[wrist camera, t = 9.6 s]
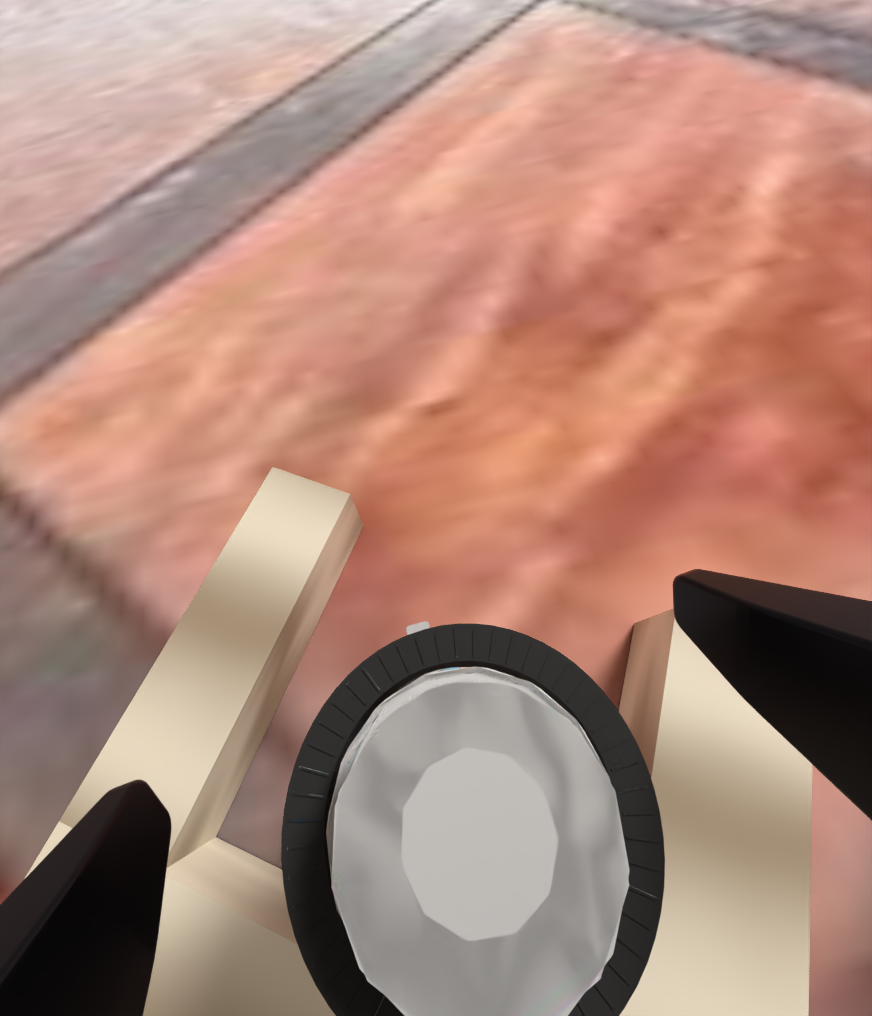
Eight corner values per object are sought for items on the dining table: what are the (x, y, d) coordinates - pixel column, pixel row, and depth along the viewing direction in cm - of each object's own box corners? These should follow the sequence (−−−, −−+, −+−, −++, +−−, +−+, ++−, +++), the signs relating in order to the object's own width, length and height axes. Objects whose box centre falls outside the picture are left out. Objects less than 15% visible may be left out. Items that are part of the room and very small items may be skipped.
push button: (349, 649, 16) (227, 579, 6) (489, 610, 16) (560, 494, 7) (390, 873, 13) (283, 1286, 4) (555, 816, 14) (804, 1059, 4)
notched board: (678, 1563, 9) (793, 1970, 6) (-35, 1100, 11) (-190, 1233, 8) (746, 663, 15) (813, 655, 13) (297, 502, 18) (272, 467, 15)
